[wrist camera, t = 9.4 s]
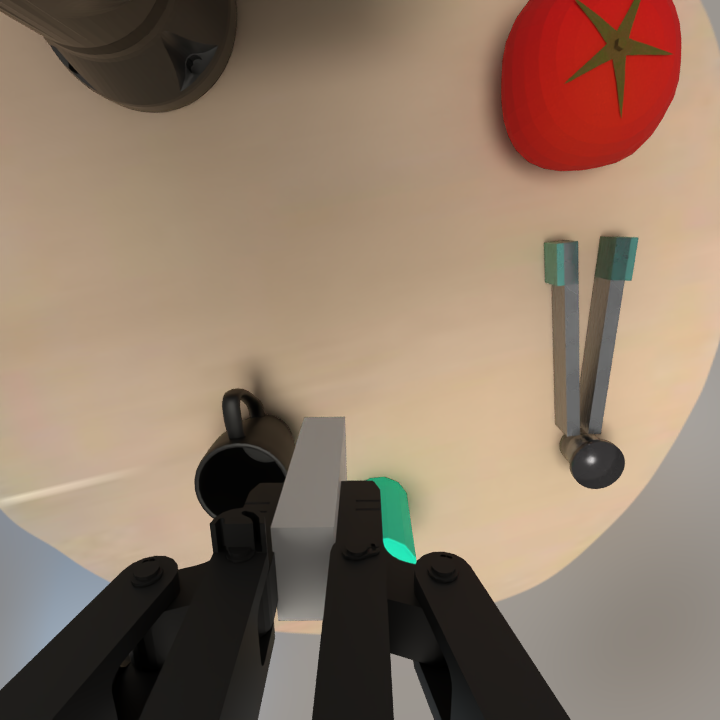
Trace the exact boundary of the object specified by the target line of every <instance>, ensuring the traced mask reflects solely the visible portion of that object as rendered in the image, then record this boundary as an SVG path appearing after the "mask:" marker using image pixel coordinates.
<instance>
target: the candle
mask: <svg viewBox="0 0 720 720" xmlns="http://www.w3.org/2000/svg"><path fill="white" fill-rule="evenodd" d="M366 481H374V482H375V484H376V485H377V486H378V487H379V489H380V494H381V512H382V530H383V543H384V547H385V548H386V550H387V551H388V552H389V553H390V554H391V555H392V556H394V557H396V558H397V559H399V560H402V561H405V562H409V563H413V564H416V554H415V547H414V540H413V534H412V527H411V520H410V513H409V507H408V500H407V493H406V492H405V490H404V489H403V488H402V487H401V485H400V484H399V483H398V482H396V481H394V480H391V479H389V478H386V477H378V478H369V479H368V480H366Z"/></svg>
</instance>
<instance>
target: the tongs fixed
mask: <svg viewBox="0 0 720 720" xmlns="http://www.w3.org/2000/svg"><path fill="white" fill-rule="evenodd" d="M637 243H638V238H637V237H600V243H599V250H598V257H597V264H596V271H595V279H594V286H593V293H592V300H591V307H590V315H589V322H588V329H587V336H586V343H585V351H584V358H583V365H582V372H581V379H580V387H579V391H580V427H581V428H580V435H577V436H569V437H567V436H566V435H565V434H564V435H563V437H562V438H561V441H560V451H561V453H562V454H563V455H564V457H565V458H566V459H567V460H568V461H569V462H570V471H571V474H572V475H573V477H574V478H575V479H576V481H577V482H578V483H579V484H581V485H582V486H584V487H587V488H591V489H600V488H604V487H607V486H609V485H611V484H612V483H614V482H615V481H616V480H617V479H618V478H619V477H620V476H621V474H622V472H623V470H624V466H625V460H624V456H623V454H622V452H621V450H620V449H619V448H618V447H616V446H615V445H614V444H613V443H611V442H609V441H607V440H601V439H598V438H597V437H596V436H595V435H594V434H601V429H602V422H603V416H604V409H605V403H606V397H607V390H608V384H609V377H610V371H611V365H612V358H613V352H614V345H615V339H616V332H617V326H618V320H619V313H620V307H621V300H622V294H623V288H624V281H625V280H627V281H632V275H633V268H634V262H635V256H636V250H637Z"/></svg>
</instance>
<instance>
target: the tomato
mask: <svg viewBox="0 0 720 720" xmlns="http://www.w3.org/2000/svg"><path fill="white" fill-rule="evenodd" d="M680 64H681V32H680V23H679V19H678V15H677V12H676V8H675V6H674V4H673V2H672V0H529V1H528V3H527V4H526V6H525V7H524V8H523V10H522V11H521V12H520V14H519V15H518V16H517V18H516V20H515V22H514V24H513V27H512V29H511V31H510V34H509V36H508V39H507V41H506V45H505V50H504V55H503V61H502V81H501V103H502V111H503V119H504V123H505V127H506V130H507V133H508V137H509V138H510V140H511V142H512V144H513V146H514V147H515V149H516V151H517V152H518V153H519V154H520V155H522V156H523V157H524V158H525V159H526V160H527V161H528V162H530V163H532V164H534V165H537V166H539V167H541V168H544V169H550V170H556V171H576V170H586V169H592V168H597V167H602V166H605V165H609V164H613V163H616V162H618V161H620V160H622V159H624V158H626V157H628V156H629V155H631V154H633V153H634V152H635V151H636V150H637V149H638V148H639V147H640V146H641V145H642V144H643V143H644V142H645V141H646V140H647V139H648V138H649V137H650V136H651V135H652V134H653V132H654V131H655V129H656V128H657V126H658V125H659V123H660V122H661V120H662V118H663V116H664V115H665V113H666V111H667V109H668V107H669V105H670V103H671V101H672V100H673V98H674V95H675V91H676V88H677V84H678V81H679V74H680Z"/></svg>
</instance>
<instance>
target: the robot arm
mask: <svg viewBox="0 0 720 720" xmlns="http://www.w3.org/2000/svg"><path fill="white" fill-rule="evenodd" d="M0 12H2V13H4V14H6V15H7V16H9V17H11V18H12V19H14V20H16V21H18V22H19V23H21V24H23V25H25V26H26V27H28V28H30V29H32V30H33V31H35V32H37V33H38V34H40V35H42V36H43V37H44V38H45V40H46V41H47V42H48V43H49V44H50V46H51V47H52V49H53V51H54V52H55V53H56V55H57V56H58V58H59V59H60V60H61V61H62V63H63V64H64V65H65V66H66V68H67V69H68V70H69V71H70V72H71V73H72V74H73V75H74V76H75V77H76V78H77V79H78V80H80V81H81V82H82V83H83V84H84V85H86V86H87V87H88V88H90V89H91V90H93V91H94V92H96V93H97V94H99V95H101V96H103V97H105V98H107V99H109V100H111V101H113V102H115V103H117V104H119V105H121V106H124V107H127V108H130V109H133V110H138V111H144V112H164V111H170V110H174V109H178V108H181V107H183V106H186V105H188V104H190V103H192V102H193V101H195V100H196V99H198V98H199V97H201V96H202V95H203V94H204V93H205V92H207V91H208V90H209V89H210V88H211V87H212V85H213V84H214V83H215V82H216V81H217V79H218V78H219V76H220V75H221V73H222V72H223V70H224V68H225V66H226V64H227V62H228V59H229V57H230V54H231V51H232V48H233V44H234V39H235V34H236V24H237V9H236V0H0ZM210 530H211V538H212V546H213V555H212V557H211V559H210V561H208V562H205V563H203V564H199V565H196V566H192V567H188V568H183V569H179V570H178V565H177V563H176V562H175V561H174V560H173V559H172V558H169V557H166V556H152V557H148V558H143V559H141V560H139V561H137V562H135V563H132V564H131V565H130V566H128V567H127V568H126V569H124V570H123V571H122V572H121V573H120V574H119V575H118V576H117V577H116V578H115V579H114V580H113V581H112V582H111V583H110V584H109V585H108V586H107V587H106V588H105V589H104V590H103V591H102V592H101V593H100V594H99V595H97V596H96V597H95V599H93V600H92V601H91V602H90V603H89V604H88V605H87V606H86V607H85V608H84V609H83V610H82V611H81V612H80V613H79V614H78V615H77V616H76V617H75V618H74V619H73V620H72V621H71V622H70V623H69V624H68V625H67V626H66V627H65V628H64V629H63V630H62V631H61V632H60V633H59V634H57V635H56V637H54V638H53V639H52V640H51V641H50V642H49V643H48V644H47V645H46V646H45V647H44V648H43V649H42V650H41V651H40V652H39V653H38V654H37V655H36V656H35V657H34V658H33V659H32V660H31V661H30V662H29V663H28V664H27V665H26V666H25V667H24V668H23V669H22V670H21V671H20V672H19V673H18V674H17V675H16V676H15V677H14V678H12V679H11V680H10V681H9V682H8V683H7V684H6V685H5V686H4V687H3V688H2V689H1V690H0V720H258V716H259V710H260V706H261V702H262V697H263V692H264V687H265V683H266V678H267V672H268V668H269V664H270V659H271V654H272V650H273V645H274V640H275V630H274V617H275V613H276V608H277V611H278V621H304V620H323V623H322V632H321V642H320V651H319V660H318V670H317V678H316V688H315V697H314V706H313V716H312V720H394V716H393V697H392V678H391V660H390V653H392V654H395V655H399V656H402V657H405V658H408V659H411V660H413V662H414V668H415V670H416V673H417V676H418V678H419V681H420V683H421V686H422V689H423V691H424V694H425V697H426V699H427V702H428V705H429V707H430V710H431V713H432V715H433V718H434V720H570V718H569V716H568V715H567V713H566V712H565V710H564V709H563V707H562V706H561V704H560V703H559V701H558V700H557V698H556V697H555V695H554V693H553V692H552V691H551V689H550V687H549V686H548V684H547V683H546V681H545V680H544V678H543V677H542V675H541V674H540V672H539V671H538V669H537V667H536V666H535V664H534V663H533V661H532V660H531V658H530V657H529V655H528V654H527V652H526V651H525V649H524V648H523V646H522V645H521V643H520V641H519V640H518V639H517V637H516V635H515V634H514V632H513V631H512V629H511V628H510V626H509V625H508V623H507V622H506V620H505V619H504V617H503V615H502V614H501V613H500V611H499V609H498V608H497V606H496V605H495V603H494V602H493V600H492V599H491V597H490V596H489V594H488V592H487V591H486V589H485V588H484V586H483V585H482V583H481V582H480V580H479V579H478V577H477V576H476V574H475V573H474V571H473V570H472V568H471V566H470V565H469V564H468V563H467V562H466V561H465V560H464V559H462V558H461V557H459V556H457V555H455V554H451V553H447V552H432V553H429V554H426V555H423V556H422V557H421V558H420V559H418V560H417V562H416V564H413V563H409V562H405V561H402V560H399V559H397V558H396V557H394V556H392V555H391V554H390V553H389V552H388V551H387V550H386V548H385V547H384V543H383V530H382V512H381V494H380V489H379V487H378V486H377V485H376V484H375V482H374V481H347V466H346V433H345V417H304V420H303V423H302V426H301V430H300V433H299V436H298V440H297V443H296V446H295V449H294V453H293V456H292V459H291V462H290V466H289V469H288V472H287V476H286V479H285V482H284V483H259V484H258V485H257V486H256V487H255V488H254V489H253V490H251V491H250V492H249V495H248V497H247V500H246V502H245V505H244V507H243V508H237V509H232V510H229V511H226V512H223V513H221V514H220V515H218V516H217V517H215V518H214V519H213V521H212V522H211V523H210Z"/></svg>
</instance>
